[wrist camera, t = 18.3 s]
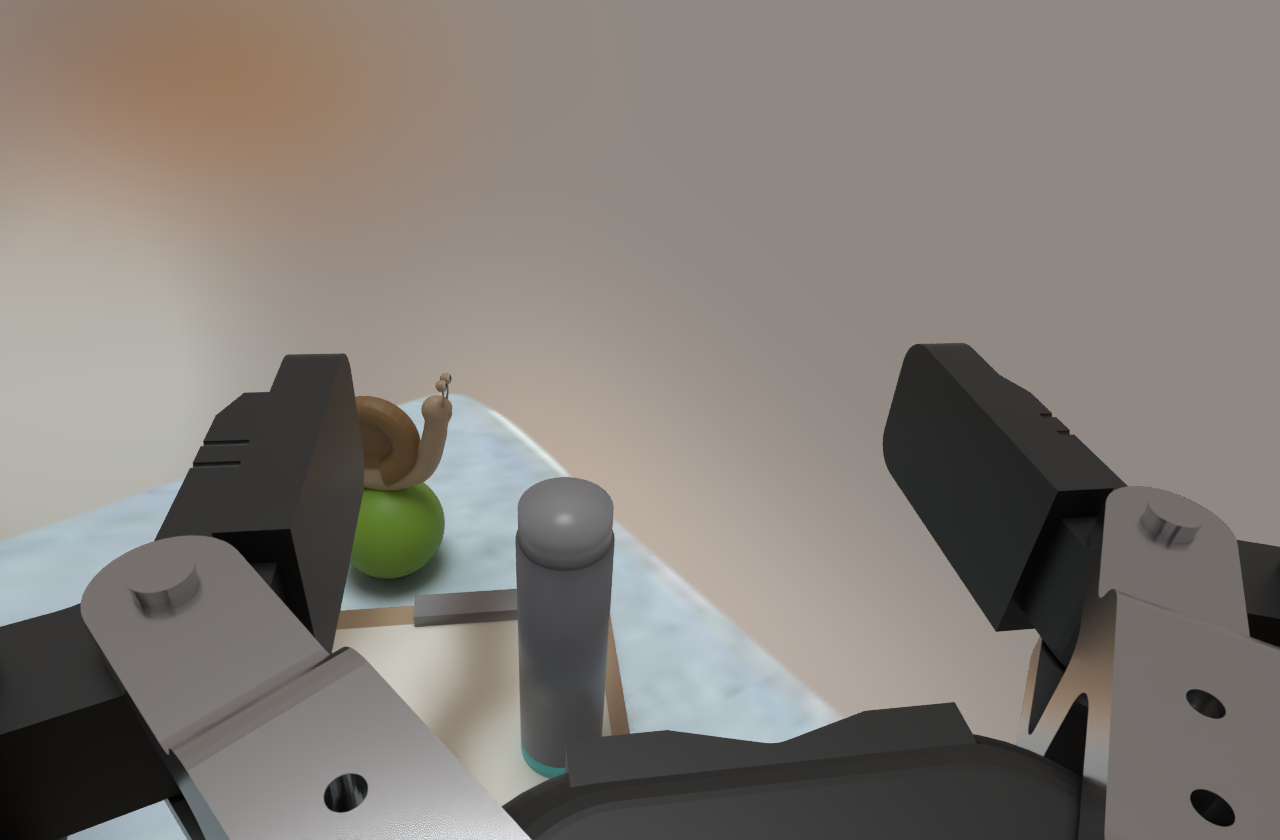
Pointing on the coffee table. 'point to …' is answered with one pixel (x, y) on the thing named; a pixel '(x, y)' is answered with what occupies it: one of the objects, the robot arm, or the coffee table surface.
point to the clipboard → (465, 677)
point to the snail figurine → (399, 486)
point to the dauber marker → (562, 616)
